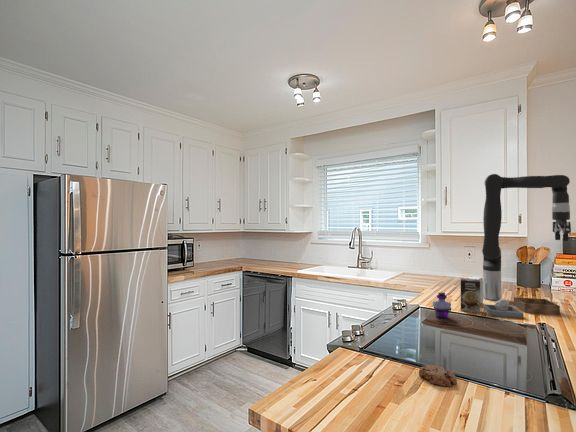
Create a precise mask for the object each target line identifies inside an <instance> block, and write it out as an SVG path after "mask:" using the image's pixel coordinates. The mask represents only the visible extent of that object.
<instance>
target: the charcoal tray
mask: <svg viewBox="0 0 576 432" xmlns="http://www.w3.org/2000/svg"><path fill="white" fill-rule="evenodd" d="M482 304H483V303H482ZM482 308H483V311H485V312H486V313H487V314H488V315H489V316H490V317H495V318H506V319H507V318H510V319H524V312H523V311H522V310H520V309H519V308H517V307H516V306H514V305H512V306H511V305H510V306H509V307H508V310H507V311H506V312H503V311H498V310H497V309H496V307H495V304H485V303H484V304H483V307H482Z"/></svg>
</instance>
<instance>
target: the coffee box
mask: <svg viewBox="0 0 576 432" xmlns="http://www.w3.org/2000/svg"><path fill="white" fill-rule="evenodd" d="M459 280H460V282H459V283H460V311H461V312H468V313H476V314H477V313H478V314H481V304H480V280H471V279H467V278H460V279H459Z"/></svg>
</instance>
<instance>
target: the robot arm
mask: <svg viewBox="0 0 576 432" xmlns="http://www.w3.org/2000/svg"><path fill="white" fill-rule="evenodd" d="M570 183H571V180H570V178H569V176H567V175H565V174H564V175H563V174H554V175H527V176H517V177H516V176H514V177H505V176H500V175H499V174H497V173H491V174H489V175H488V176H486V177H485V179H484V186H485V201H484V207H483V233H484V235H483V236H484V237H483V245H482V250H481V253H482V255H483V257H482V258H483V259H482V260H483V264H482V269H483V270H482V278H483V299H484V300H490V301H499V300H501V299H503V298H502V295H503V294H502V249H501V248H500V243H499V242H500V239H499V236H500V232H501V227H502V218H503V217H502V212H503V211H502V202H501V194H502V193H501V192H502V189H510V188H511V189H515V188H516V189H518V188H519V189H545V188H551V192H552V206H551V213H552V214H551V216H552V219H551V220H553V221H552V232H553V233H554V240H555V241H560V240H561V233H562V241H563V242H568V241H569V234H570V233H571V232H572V227H571V226H572V225H571V221H568V220H571V208H570V207H571V206H570V196H569V192H568V185H569V184H570Z"/></svg>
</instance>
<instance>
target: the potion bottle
mask: <svg viewBox="0 0 576 432" xmlns="http://www.w3.org/2000/svg"><path fill="white" fill-rule="evenodd" d="M436 298H437V299H438V300H434V301H433V302H432V306H433V310H434V312H435V317H436V318H438V319H442V320H448V319H449V314H451V313H452V303H451V302H449V301H446V299H447V294H446V293H445V292H441V291H439V292H438V293H437V294H436Z"/></svg>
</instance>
